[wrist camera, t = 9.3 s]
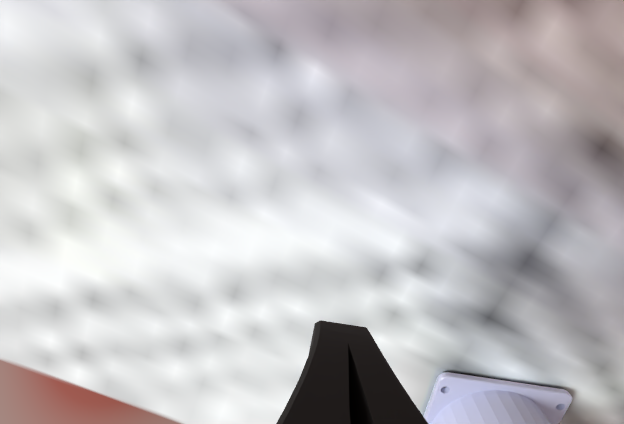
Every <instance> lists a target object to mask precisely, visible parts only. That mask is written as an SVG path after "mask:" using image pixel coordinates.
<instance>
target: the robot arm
mask: <svg viewBox="0 0 624 424" xmlns="http://www.w3.org/2000/svg"><path fill="white" fill-rule="evenodd" d="M442 387H445V388H442ZM571 402H572V396H571V395H570V393H569V392H568V391H567V390H564V389H558V388H551V387H544V386H538V385H531V384H524V383H517V382H511V381H504V380H497V379H490V378H483V377H477V376H470V375H463V374H456V373H450V372H444V373H441V374H440V375H439V376H438V377H437V380H436V383H435V386H434V388H433V391H432V394H431V397H430V399H429V402H428V405H427V408H426V410H425V413H424V416H422V414H421V413H420V411H419V410H418V408H417V407H416V406H415V404H414V403H413V401H412V400H411V398H410V397H409V395H408V394H407V392H406V391H405V389H404V388H403V386H402V385H401V383H400V382H399V380H398V379H397V377H396V376H395V374H394V372H393V371H392V369H391V368H390V366H389V364H388V363H387V361H386V359H385V358H384V356H383V354H382V353H381V351H380V349H379V348H378V346H377V344H376V343H375V341H374V339H373V337H372V336H371V334H370V332H369V331H368V329H367V328H366V327H359V326H353V325H346V324H340V323H333V322H326V321H319V322H317V323H315V326H314V331H313V336H312V341H311V346H310V351H309V356H308V359H307V361H306V364H305V366H304V369H303V371H302V374H301V376H300V379H299V381H298V383H297V385H296V387H295V389H294V391H293V393H292V395H291V397H290V399H289V401H288V403H287V405H286V407H285V409H284V411H283V413H282V415H281V416H280V418H279V420H278V422H277V424H560V422H561V420H562V418H563V416H564V414H565V413H566V411H567V409H568V407H569V405H570V403H571Z"/></svg>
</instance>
